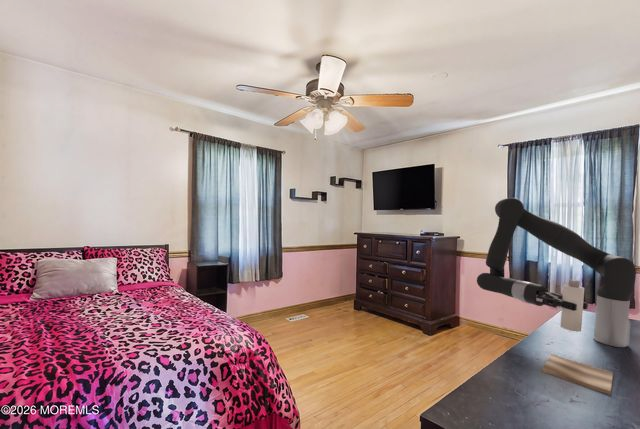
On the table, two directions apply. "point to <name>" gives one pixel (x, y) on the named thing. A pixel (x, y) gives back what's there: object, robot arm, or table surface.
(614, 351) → the table surface
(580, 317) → the lotion bottle
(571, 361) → the oak board
